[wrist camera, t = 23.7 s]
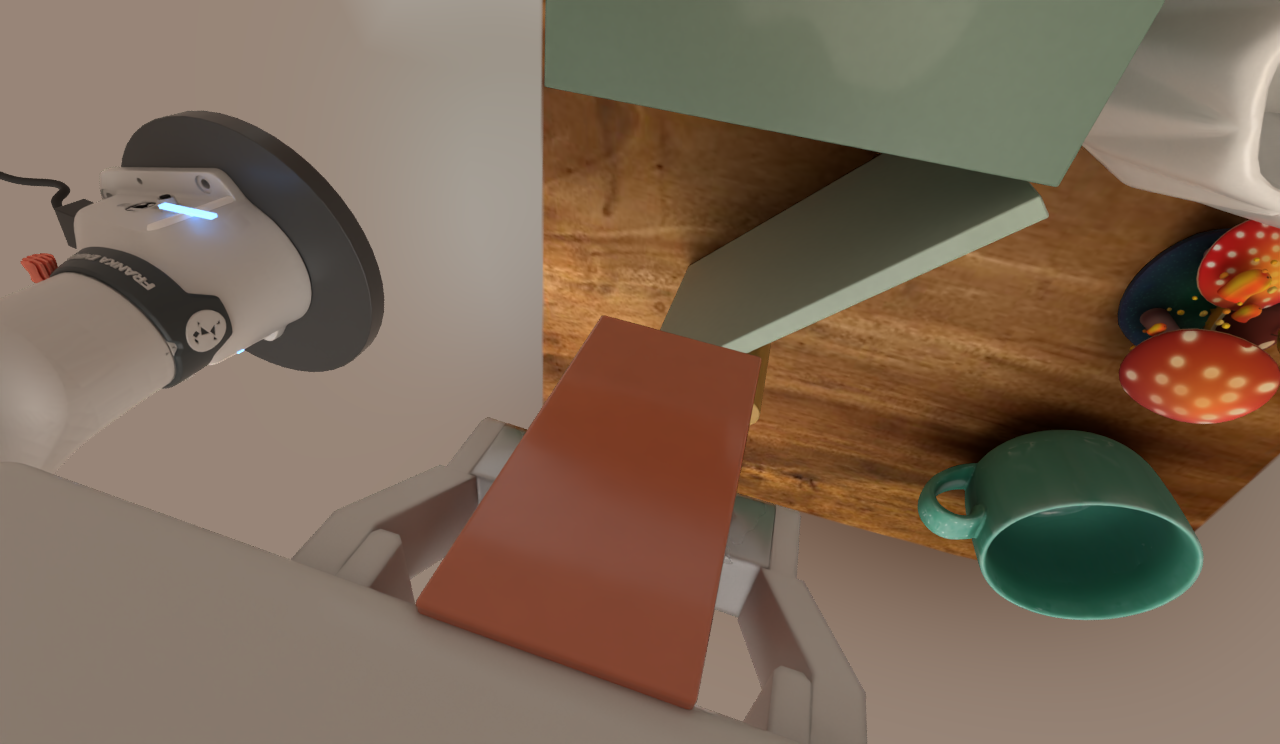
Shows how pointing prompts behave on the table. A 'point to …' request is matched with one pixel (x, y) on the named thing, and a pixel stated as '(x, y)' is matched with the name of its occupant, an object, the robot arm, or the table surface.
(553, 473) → the block
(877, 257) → the door
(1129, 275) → the table surface
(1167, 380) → the figurine
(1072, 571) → the mug
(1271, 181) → the vase
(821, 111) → the cupboard
